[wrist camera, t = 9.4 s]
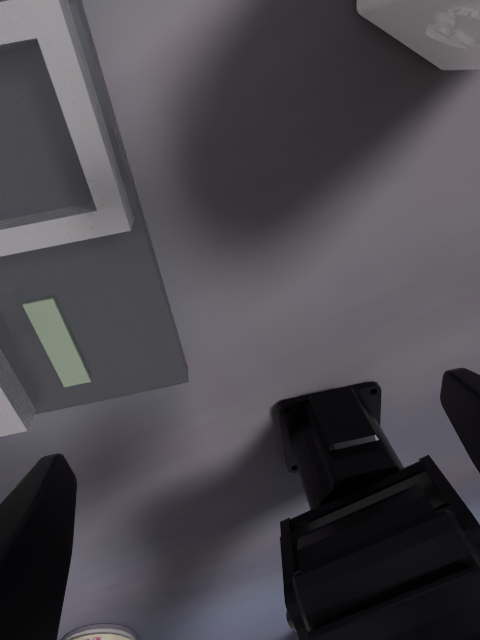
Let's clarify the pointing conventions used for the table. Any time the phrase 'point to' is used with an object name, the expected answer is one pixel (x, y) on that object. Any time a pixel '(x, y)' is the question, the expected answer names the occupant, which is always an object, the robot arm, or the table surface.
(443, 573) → the robot arm
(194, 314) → the table surface
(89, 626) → the aerosol can
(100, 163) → the panel
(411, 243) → the table surface
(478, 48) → the jar
